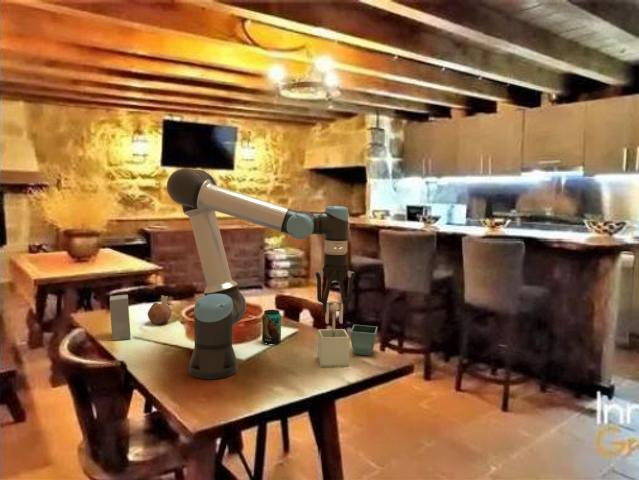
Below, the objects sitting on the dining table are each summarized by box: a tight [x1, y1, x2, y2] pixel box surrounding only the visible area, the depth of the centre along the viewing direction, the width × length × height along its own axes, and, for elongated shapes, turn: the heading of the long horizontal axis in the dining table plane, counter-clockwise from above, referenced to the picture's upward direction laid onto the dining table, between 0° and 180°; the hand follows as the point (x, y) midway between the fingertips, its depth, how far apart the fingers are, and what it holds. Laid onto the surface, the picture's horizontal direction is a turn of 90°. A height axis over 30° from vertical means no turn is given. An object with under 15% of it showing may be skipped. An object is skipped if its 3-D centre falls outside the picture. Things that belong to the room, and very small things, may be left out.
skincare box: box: [109, 294, 131, 341], centre depth 181 cm, size 8×7×16 cm
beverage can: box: [261, 309, 282, 345], centre depth 180 cm, size 7×7×12 cm
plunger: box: [327, 300, 341, 337], centre depth 160 cm, size 7×7×18 cm
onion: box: [147, 302, 172, 326], centre depth 201 cm, size 10×9×10 cm
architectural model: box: [161, 295, 176, 307], centre depth 222 cm, size 3×7×7 cm, turn 42°
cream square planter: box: [316, 328, 351, 368], centre depth 161 cm, size 9×9×10 cm
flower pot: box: [350, 324, 379, 356], centre depth 171 cm, size 9×9×9 cm
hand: (333, 322), depth 160 cm, fingers closed on plunger, 4 cm apart
